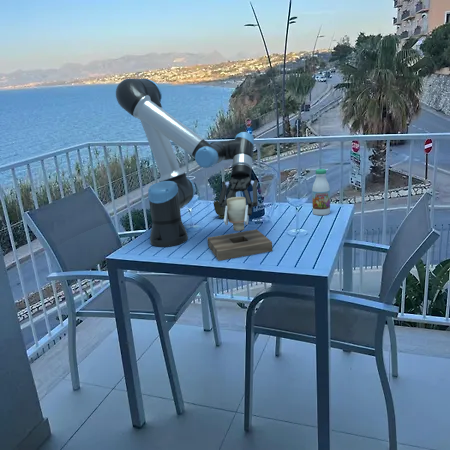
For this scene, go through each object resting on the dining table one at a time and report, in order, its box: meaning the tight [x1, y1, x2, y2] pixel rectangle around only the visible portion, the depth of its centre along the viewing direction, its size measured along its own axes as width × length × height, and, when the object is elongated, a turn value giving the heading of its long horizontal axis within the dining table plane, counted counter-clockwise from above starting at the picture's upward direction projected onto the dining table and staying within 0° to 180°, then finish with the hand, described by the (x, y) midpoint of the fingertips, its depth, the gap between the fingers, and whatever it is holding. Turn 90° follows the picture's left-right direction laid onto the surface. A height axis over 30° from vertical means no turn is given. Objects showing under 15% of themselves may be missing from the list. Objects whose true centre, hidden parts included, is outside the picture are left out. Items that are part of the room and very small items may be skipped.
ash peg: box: [227, 196, 247, 232], centre depth 147 cm, size 7×7×11 cm
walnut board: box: [206, 229, 273, 262], centre depth 150 cm, size 16×20×4 cm
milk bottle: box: [311, 168, 331, 216], centre depth 182 cm, size 8×8×20 cm
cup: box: [213, 199, 224, 219], centre depth 190 cm, size 8×7×8 cm
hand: (235, 223), depth 144 cm, fingers closed on ash peg, 7 cm apart
